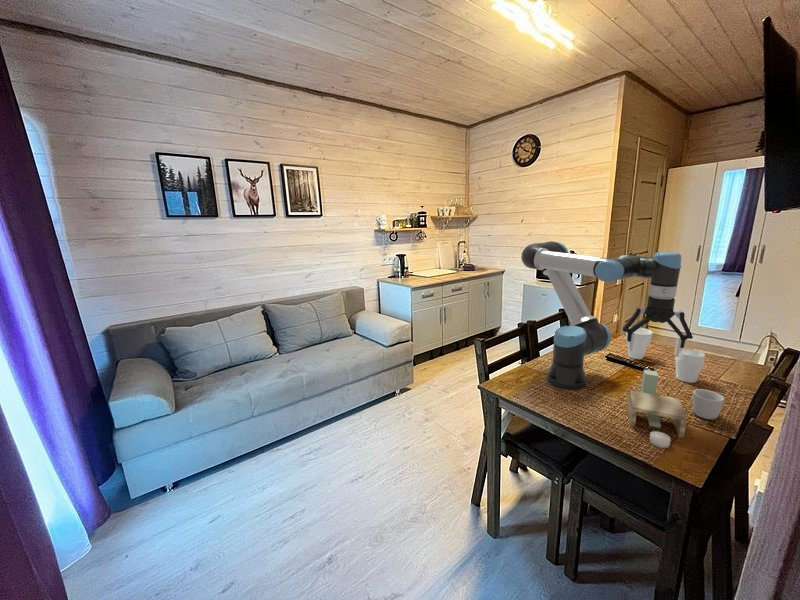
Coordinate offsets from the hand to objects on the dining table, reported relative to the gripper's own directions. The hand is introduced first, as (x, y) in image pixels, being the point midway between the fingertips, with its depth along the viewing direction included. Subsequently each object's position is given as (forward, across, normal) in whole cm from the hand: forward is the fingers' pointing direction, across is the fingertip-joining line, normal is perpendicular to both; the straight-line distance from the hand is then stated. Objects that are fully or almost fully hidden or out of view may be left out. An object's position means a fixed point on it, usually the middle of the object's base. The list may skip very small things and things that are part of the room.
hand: (652, 352), depth 124 cm
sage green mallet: (+19, 0, -9) cm, 21 cm away
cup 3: (+19, +16, -3) cm, 25 cm away
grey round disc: (+19, +1, -28) cm, 34 cm away
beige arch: (+19, 0, -16) cm, 25 cm away
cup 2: (+19, +16, +25) cm, 35 cm away
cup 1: (+19, 0, +43) cm, 47 cm away
